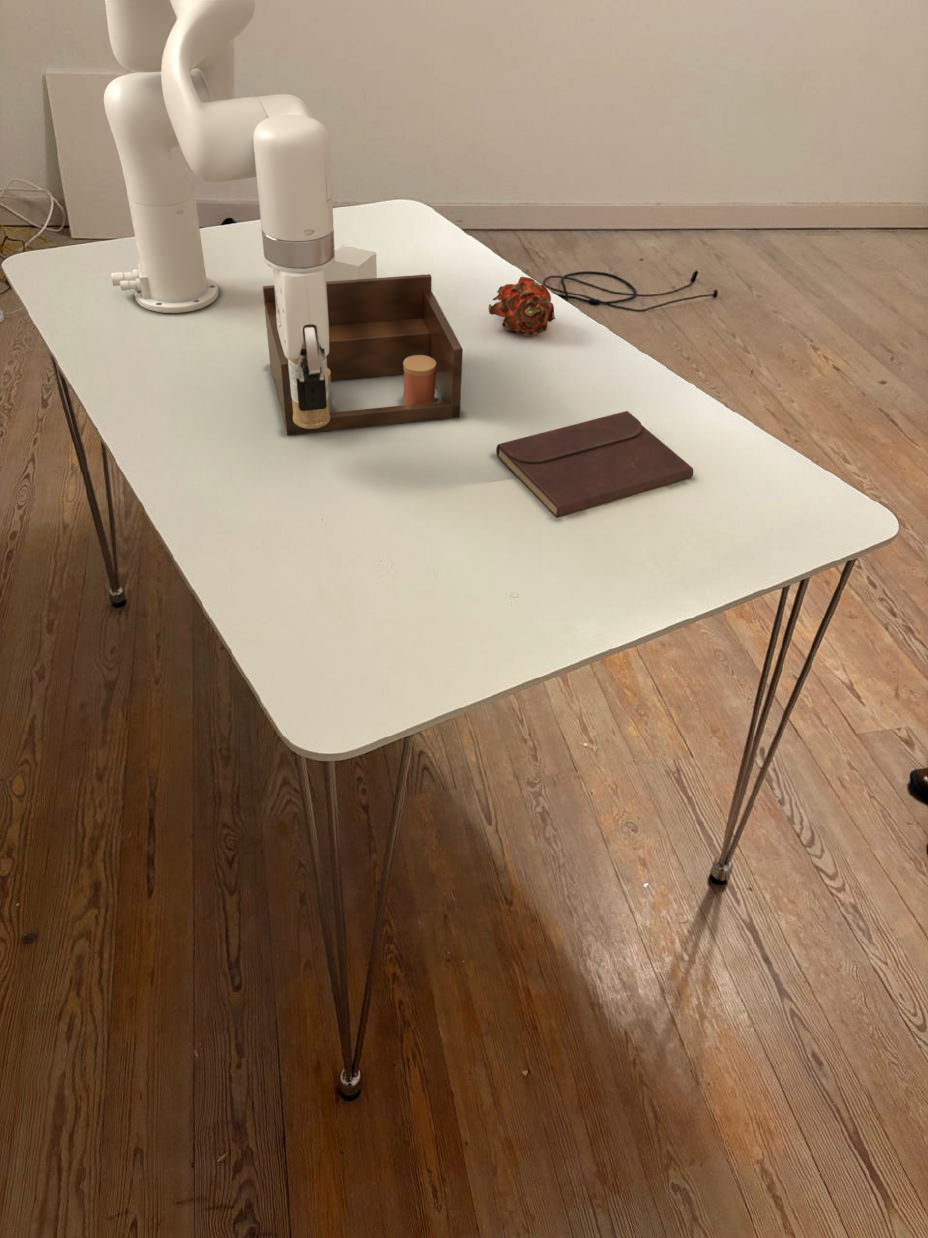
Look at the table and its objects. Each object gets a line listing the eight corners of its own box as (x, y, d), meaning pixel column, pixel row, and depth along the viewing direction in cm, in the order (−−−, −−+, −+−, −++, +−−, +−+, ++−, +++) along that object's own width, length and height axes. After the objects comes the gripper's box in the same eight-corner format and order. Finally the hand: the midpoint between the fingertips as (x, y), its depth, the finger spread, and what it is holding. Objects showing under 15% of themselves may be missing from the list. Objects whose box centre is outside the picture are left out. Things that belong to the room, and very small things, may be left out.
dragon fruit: (539, 358, 151) (497, 335, 160) (578, 316, 151) (534, 296, 160) (511, 319, 146) (469, 298, 154) (551, 275, 145) (507, 256, 154)
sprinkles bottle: (317, 406, 124) (310, 303, 115) (337, 422, 122) (332, 318, 113) (285, 418, 122) (275, 313, 113) (305, 434, 120) (297, 328, 111)
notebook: (692, 479, 126) (695, 466, 125) (557, 519, 119) (559, 505, 118) (623, 421, 136) (625, 408, 135) (495, 455, 129) (496, 441, 127)
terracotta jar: (406, 412, 136) (407, 372, 132) (400, 396, 139) (399, 356, 135) (438, 409, 137) (439, 369, 132) (431, 393, 140) (432, 353, 136)
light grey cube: (326, 295, 161) (323, 258, 157) (344, 281, 165) (342, 244, 161) (359, 303, 159) (358, 265, 155) (377, 288, 163) (376, 252, 159)
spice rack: (287, 435, 130) (279, 349, 122) (270, 367, 143) (262, 285, 135) (459, 417, 135) (463, 333, 127) (428, 353, 148) (430, 273, 140)
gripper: (254, 217, 113) (269, 366, 125) (272, 281, 101) (287, 438, 113) (321, 213, 114) (329, 360, 127) (347, 276, 103) (353, 432, 115)
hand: (309, 396), depth 120 cm, fingers closed on sprinkles bottle, 4 cm apart
